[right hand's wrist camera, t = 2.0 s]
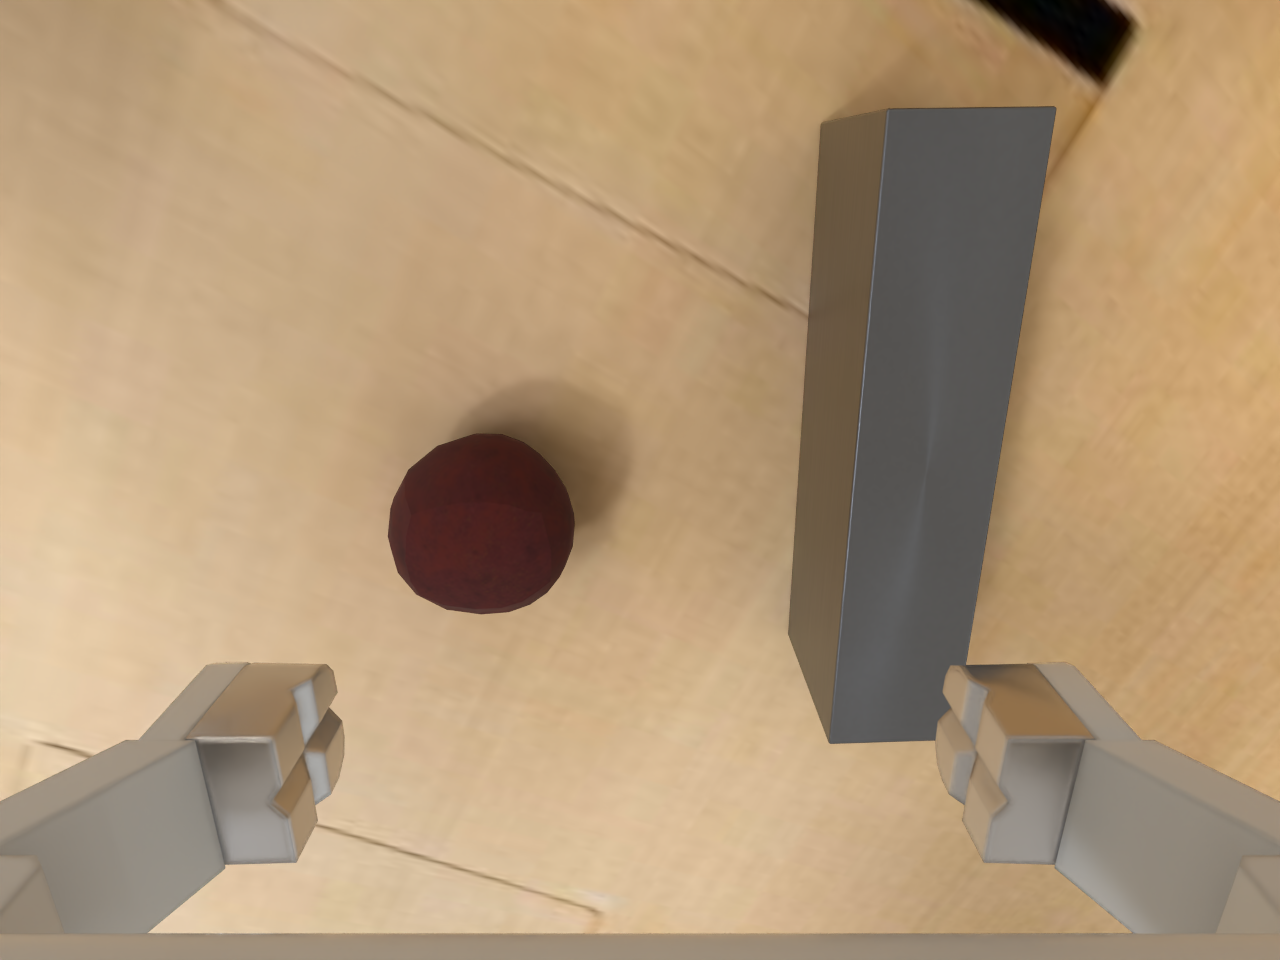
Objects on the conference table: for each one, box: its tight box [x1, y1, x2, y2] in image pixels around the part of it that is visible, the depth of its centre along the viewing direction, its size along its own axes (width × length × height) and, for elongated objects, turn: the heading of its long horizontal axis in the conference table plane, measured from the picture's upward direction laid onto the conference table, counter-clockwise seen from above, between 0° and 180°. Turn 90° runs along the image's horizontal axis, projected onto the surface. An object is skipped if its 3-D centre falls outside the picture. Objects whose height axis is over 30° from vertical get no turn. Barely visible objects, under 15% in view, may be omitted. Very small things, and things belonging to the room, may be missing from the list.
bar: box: [788, 106, 1056, 744], centre depth 32 cm, size 24×5×8 cm, turn 1°
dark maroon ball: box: [388, 434, 574, 614], centre depth 33 cm, size 7×8×7 cm
